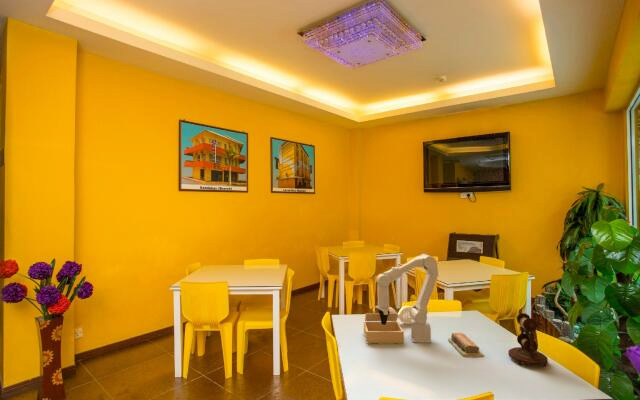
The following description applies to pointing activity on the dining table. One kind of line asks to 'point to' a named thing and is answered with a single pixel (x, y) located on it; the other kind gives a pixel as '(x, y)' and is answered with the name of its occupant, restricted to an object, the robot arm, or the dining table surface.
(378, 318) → the carton flap
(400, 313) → the letter
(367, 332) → the carton
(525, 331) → the brown figurine statuette
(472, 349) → the packaged product
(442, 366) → the dining table surface
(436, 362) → the dining table surface
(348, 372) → the dining table surface
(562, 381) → the dining table surface
